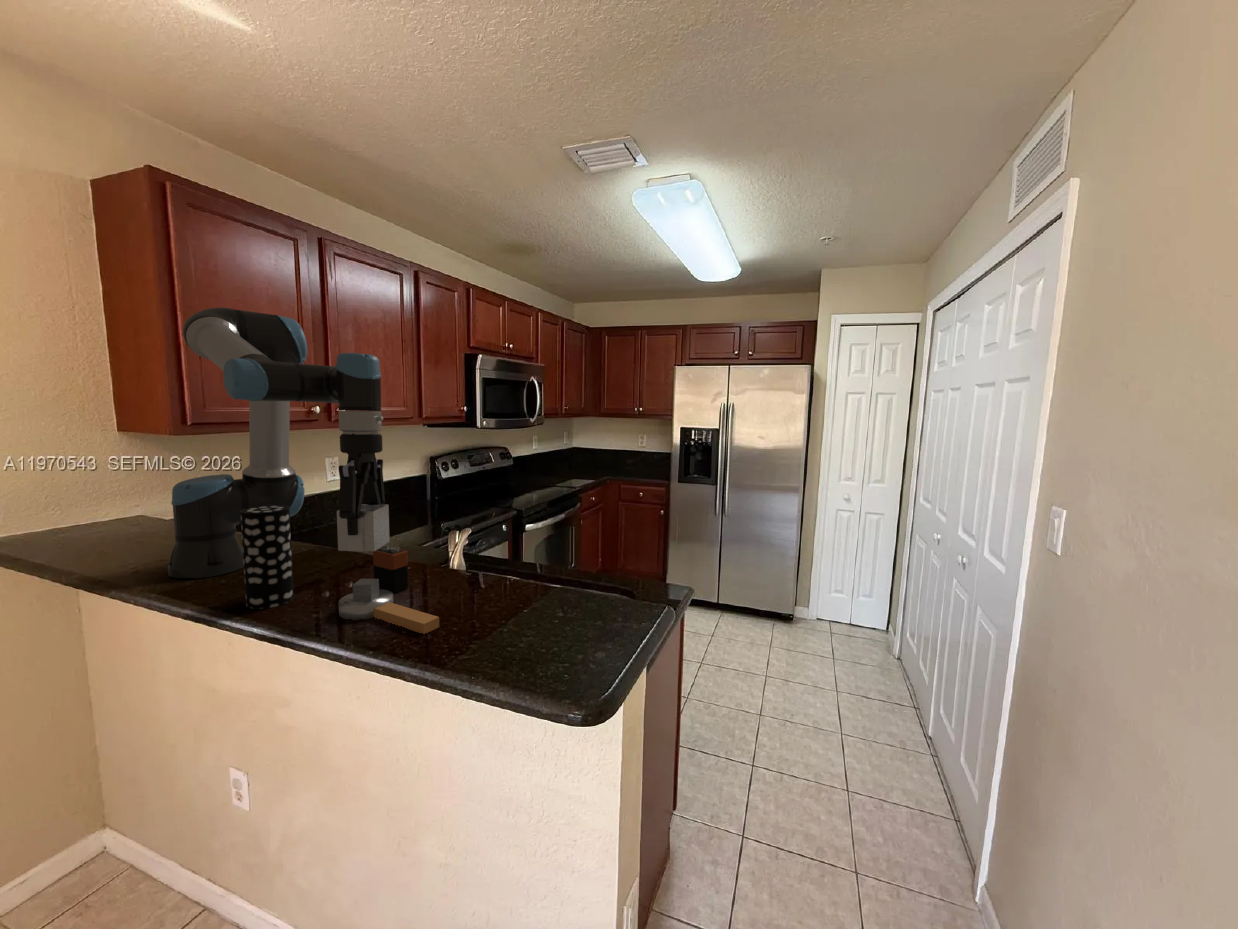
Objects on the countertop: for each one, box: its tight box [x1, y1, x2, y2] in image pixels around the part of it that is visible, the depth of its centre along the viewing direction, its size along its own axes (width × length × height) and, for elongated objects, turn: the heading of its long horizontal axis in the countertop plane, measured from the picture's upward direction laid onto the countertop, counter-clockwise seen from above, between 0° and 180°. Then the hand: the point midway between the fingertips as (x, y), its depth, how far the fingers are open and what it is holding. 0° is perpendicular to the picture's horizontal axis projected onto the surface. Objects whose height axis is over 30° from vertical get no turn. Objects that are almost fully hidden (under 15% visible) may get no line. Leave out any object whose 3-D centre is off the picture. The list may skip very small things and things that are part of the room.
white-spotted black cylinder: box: [240, 505, 295, 610], centre depth 103 cm, size 8×8×20 cm
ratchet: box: [338, 578, 440, 635], centre depth 98 cm, size 24×10×6 cm, turn 62°
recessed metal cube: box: [336, 503, 391, 552], centre depth 99 cm, size 7×7×8 cm
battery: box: [372, 544, 409, 595], centre depth 113 cm, size 4×7×10 cm, turn 62°
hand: (365, 545), depth 100 cm, fingers closed on recessed metal cube, 7 cm apart
